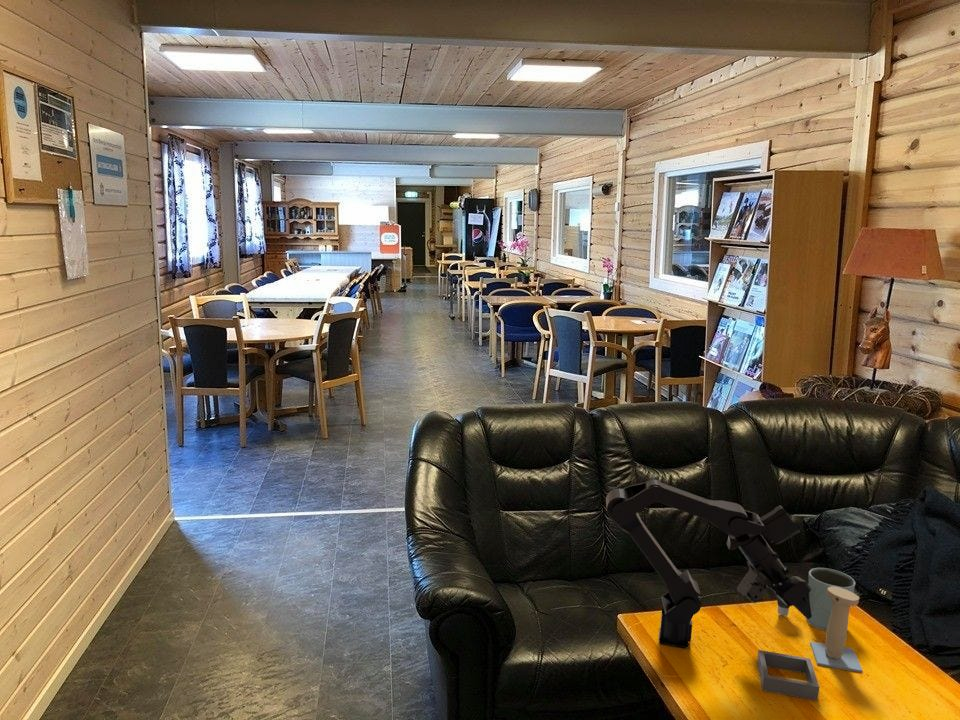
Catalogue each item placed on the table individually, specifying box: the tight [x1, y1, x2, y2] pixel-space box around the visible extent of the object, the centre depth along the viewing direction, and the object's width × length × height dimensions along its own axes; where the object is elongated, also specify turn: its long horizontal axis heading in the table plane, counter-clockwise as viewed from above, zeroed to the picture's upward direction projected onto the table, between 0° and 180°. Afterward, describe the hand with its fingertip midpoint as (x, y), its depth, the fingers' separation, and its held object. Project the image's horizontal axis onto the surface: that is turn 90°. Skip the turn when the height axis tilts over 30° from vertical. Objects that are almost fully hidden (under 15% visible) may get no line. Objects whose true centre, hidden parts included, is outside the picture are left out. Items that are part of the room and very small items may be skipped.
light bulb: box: [773, 591, 791, 618], centre depth 178 cm, size 6×6×10 cm
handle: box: [825, 586, 860, 659], centre depth 160 cm, size 5×6×15 cm
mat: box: [809, 641, 864, 674], centre depth 162 cm, size 9×9×1 cm
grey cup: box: [805, 567, 856, 632], centre depth 176 cm, size 10×10×12 cm
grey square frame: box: [756, 649, 820, 701], centre depth 152 cm, size 10×10×3 cm
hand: (799, 610), depth 161 cm, fingers open, 9 cm apart
